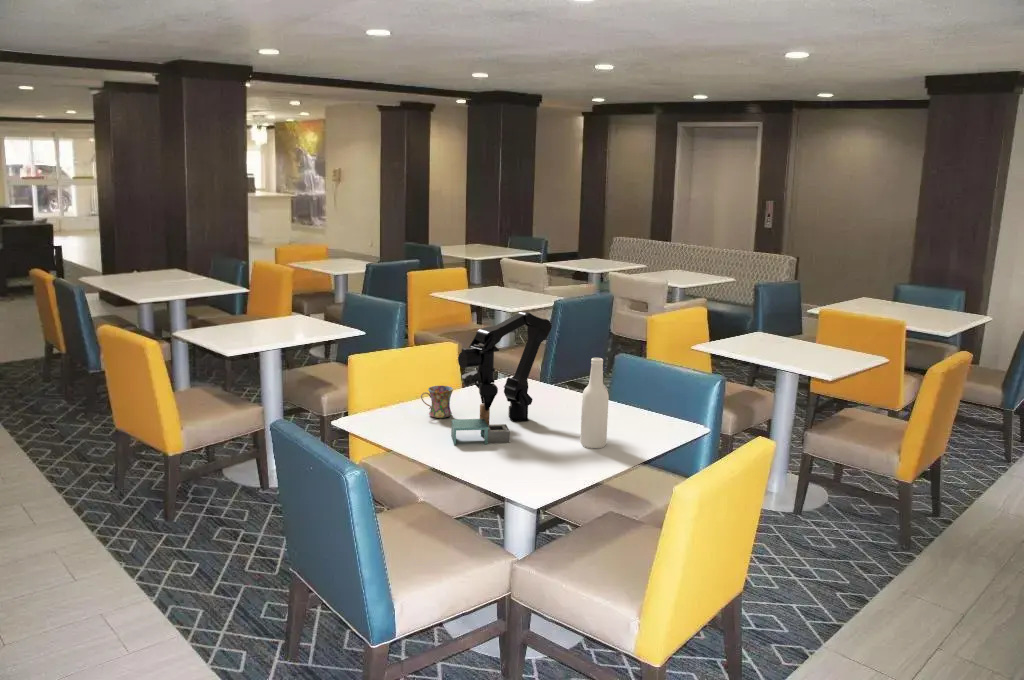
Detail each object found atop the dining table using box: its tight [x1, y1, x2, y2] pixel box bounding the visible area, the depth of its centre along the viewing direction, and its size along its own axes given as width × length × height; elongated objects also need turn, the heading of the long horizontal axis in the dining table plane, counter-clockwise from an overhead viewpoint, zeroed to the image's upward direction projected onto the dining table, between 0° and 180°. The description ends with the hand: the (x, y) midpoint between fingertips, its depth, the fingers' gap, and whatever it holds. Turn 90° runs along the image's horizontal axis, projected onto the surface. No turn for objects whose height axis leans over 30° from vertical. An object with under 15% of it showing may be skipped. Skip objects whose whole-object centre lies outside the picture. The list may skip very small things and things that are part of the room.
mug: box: [420, 385, 454, 419], centre depth 309 cm, size 12×9×11 cm
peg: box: [479, 403, 491, 425], centre depth 299 cm, size 4×4×8 cm
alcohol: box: [579, 357, 610, 449], centre depth 279 cm, size 9×9×30 cm
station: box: [450, 418, 511, 446], centre depth 284 cm, size 19×10×6 cm, turn 100°
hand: (485, 406), depth 298 cm, fingers open, 9 cm apart
